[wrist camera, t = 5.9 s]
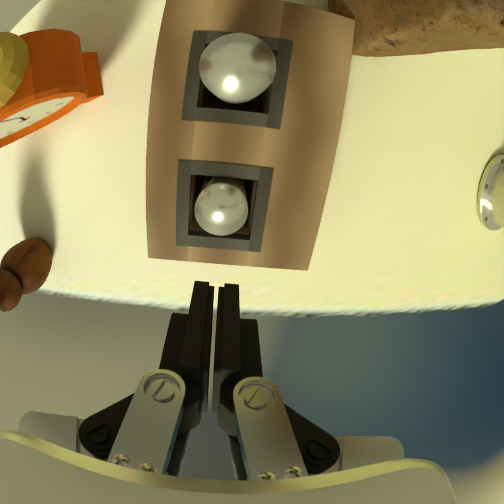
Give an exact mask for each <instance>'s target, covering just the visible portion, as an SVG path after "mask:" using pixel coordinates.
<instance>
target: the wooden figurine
mask: <svg viewBox="0 0 504 504" xmlns="http://www.w3.org/2000/svg"><path fill="white" fill-rule="evenodd" d="M51 265H52V254H51V250H50V248H49V247H48V245H47V244H46V243H45V242H44V241H43V240H40V239H38V238H30V239H26V240H24V241H21V242H20V243H18V244H16V245H15V246H13V247H12V248H11V249H9V250H8V251H7V253H6V254H5V255H4V257H3V259H2V261H1V264H0V310H1V311H3V312H6V311H10V310H12V309H13V308H15V307H16V306H17V305H18V303H19V302H20V299H21V296H22V294H29V293H32V292H34V291H36V290H38V289H39V288H40V287H41V286H42V285H43V284H44V282H45V281H46V279H47V276H48V274H49V272H50V269H51Z"/></svg>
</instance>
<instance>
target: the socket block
mask: <svg viewBox="0 0 504 504" xmlns="http://www.w3.org/2000/svg"><path fill="white" fill-rule="evenodd" d="M354 28H355V20H353V19H350V18H347V17H344V16H341V15H337V14H334V13H331V12H327V11H324V10H320V9H316V8H312V7H308V6H304V5H300V4H295V3H290V2H285V1H279V0H166V4H165V9H164V13H163V18H162V22H161V27H160V33H159V38H158V44H157V50H156V56H155V63H154V70H153V77H152V86H151V95H150V105H149V117H148V132H147V153H146V223H147V244H148V258H157V259H168V260H179V261H191V262H203V263H215V264H227V265H240V266H252V267H266V268H279V269H293V270H308V267H309V264H310V260H311V256H312V252H313V249H314V245H315V241H316V237H317V233H318V229H319V225H320V221H321V217H322V213H323V208H324V204H325V200H326V195H327V191H328V186H329V182H330V177H331V173H332V168H333V163H334V158H335V153H336V148H337V143H338V138H339V132H340V127H341V121H342V115H343V110H344V103H345V97H346V91H347V84H348V77H349V70H350V63H351V55H352V47H353V38H354ZM231 33H245V34H250V35H253V36H255V37H258V38H259V39H261V40H262V41H264V42H265V43H266V44H267V45H268V46H269V47H270V49H271V50H272V52H273V54H274V56H275V60H276V73H275V76H274V79H273V81H272V82H271V84H270V85H269V87H268V88H267V89H266V90H265V91H263V92H262V97H261V104H260V111H259V113H255V112H247V111H238V110H228V109H215V108H207V100H208V92H209V89H208V88H207V87H206V86H205V85H204V83H203V82H202V80H201V77H200V73H199V61H200V58H201V55H202V53H203V51H204V50H205V48H206V47H207V46H208V45H209V44H210V43H211V42H212V41H214V40H215V39H217V38H219V37H221V36H223V35H227V34H231ZM200 175H207V176H219V177H231V178H241V179H250V184H249V191H248V199H247V205H248V215H247V219H246V221H245V223H244V224H243V226H242V227H241V228H240V229H239V230H237V231H236V232H234V233H232V234H229V235H223V236H221V235H214V234H211V233H209V232H207V231H205V230H204V229H203V228H202V227H201V226H200V225H199V224H198V222H197V220H196V217H195V213H194V208H195V203H196V200H197V198H198V195H199V184H200Z"/></svg>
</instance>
